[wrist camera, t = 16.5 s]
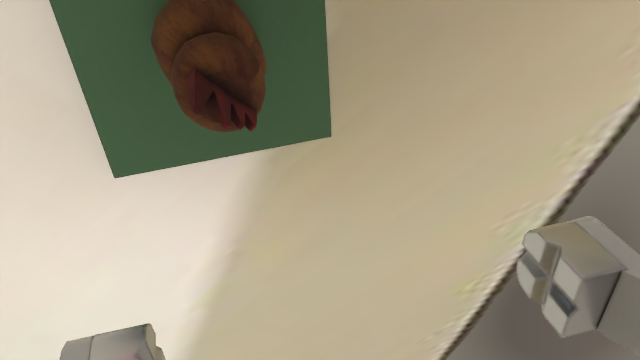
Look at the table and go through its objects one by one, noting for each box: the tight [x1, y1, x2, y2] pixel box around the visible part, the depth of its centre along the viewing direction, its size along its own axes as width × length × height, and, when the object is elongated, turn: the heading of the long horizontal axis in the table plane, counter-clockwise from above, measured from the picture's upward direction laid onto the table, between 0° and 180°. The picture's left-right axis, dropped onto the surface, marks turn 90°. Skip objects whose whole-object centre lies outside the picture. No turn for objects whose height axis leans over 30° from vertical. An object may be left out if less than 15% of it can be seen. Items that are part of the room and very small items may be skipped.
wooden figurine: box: [151, 0, 267, 132], centre depth 26 cm, size 7×6×15 cm
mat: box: [49, 0, 331, 178], centre depth 33 cm, size 17×20×1 cm
